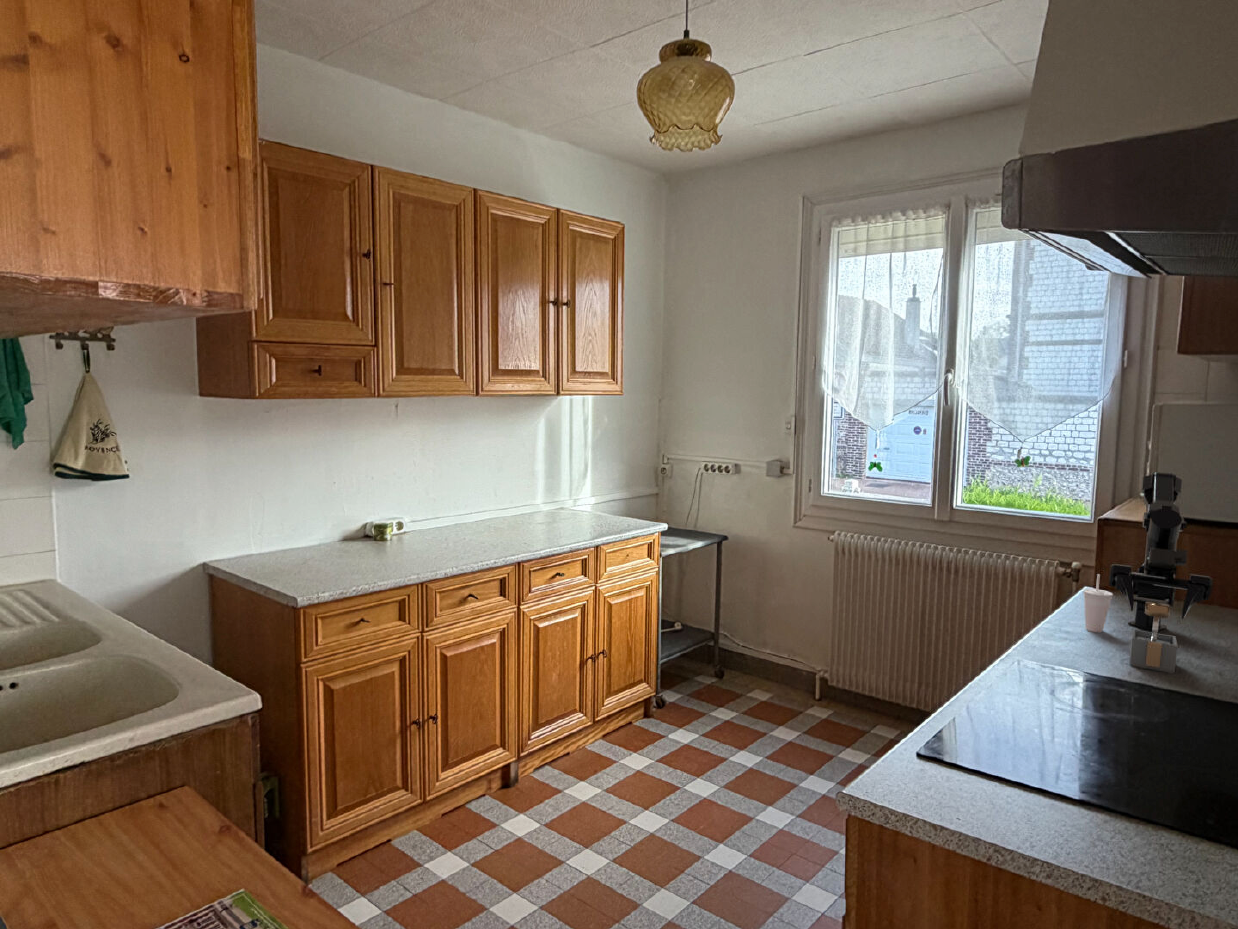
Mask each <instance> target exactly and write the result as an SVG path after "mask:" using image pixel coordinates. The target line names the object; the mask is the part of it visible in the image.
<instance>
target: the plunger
mask: <svg viewBox="0 0 1238 929" xmlns="http://www.w3.org/2000/svg"><path fill="white" fill-rule="evenodd" d="M1170 611H1171V607H1170V605H1168V604H1165V603H1160V602H1153V601H1148V602H1146V606H1145V614H1146V615H1149V616H1152V617H1154V619H1153V628H1152V630H1151V632H1152V637H1151V638H1147V637H1141V636H1137V637H1136V638H1137V639H1143V640H1148V641H1154V642H1160V643H1166V644H1171V643H1170V641H1165V640H1159V639H1157V633H1158V632H1159V630H1158V625H1159V618H1162V619H1169V618H1170ZM1158 634H1159V633H1158Z"/></svg>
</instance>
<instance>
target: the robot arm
mask: <svg viewBox="0 0 1238 929" xmlns="http://www.w3.org/2000/svg"><path fill="white" fill-rule="evenodd" d="M1182 484H1183V480H1182V479H1181V478H1180V477H1177V474H1174V473H1172V472H1158V471H1156V472H1152V473H1151V474H1150V475H1145V476H1143V477H1142V480H1141V489H1140V494H1143V503H1144V506H1146V508H1147V512H1143V515H1142V516H1143V518H1142V528H1145V532H1146V533H1147V534H1146V543H1145V555H1144V556H1145V557H1144V563H1143V564H1142V565H1140V567H1139V568H1138V569H1137V571H1136V572H1133V571H1132V565H1127V564H1126V565H1125V564H1117V563H1113V564H1112V565H1110V570H1109V571H1110V572H1109V580H1108V586H1110V587H1113V588H1115V590H1116V591H1120V593H1121V595H1123V597H1124V599H1125V601H1126V603H1127V606H1128V607H1129V610H1130V611H1131V612H1133V611H1134V620H1131V621H1128V622H1127V625H1131V626H1133V627H1137V626H1138V627H1137V628H1141V629H1145V630H1149V631H1152V628H1153V619H1154V617H1152V616H1149V615H1146V614H1145V606H1146V602H1148V601H1153V602H1160V603H1165V604H1168V605H1170V608H1171V607H1174V603H1175V602H1174V601H1175V596H1176V589H1180V590H1186V594H1185V597H1184V598H1185V599H1184V601H1183V602H1184V603H1183V606H1182V609H1181V610H1182V611H1181V613H1180V614H1181V615H1180V616H1181V619H1182V620H1184V619H1185V617H1186V615H1188V613H1189V610H1190V609H1191V608H1192V606H1194V605H1195V603H1201V602H1202V601H1207V600H1210V597H1211V593H1212V591H1213V590H1212V589H1213V586H1214V585H1213V581H1214V580H1213V579H1212V578H1211V577H1210V576H1209V575H1200V574H1194V573H1190V574H1189V578H1188V579H1181V578H1176V575H1177V572H1178V566H1182V567H1183V566H1186V565H1187V560H1188V550H1187V549H1182V548H1181V549H1180V548H1177V542H1178V540H1179V536H1180V532H1183V531H1184V529H1187V527H1188V523H1187V521H1185V519H1184V516H1182V515H1181V508H1180V507H1179V506H1177V505H1176V502H1177V498H1178V497H1179V498H1180V497H1181V494H1182ZM1134 604H1135V610H1134ZM1162 621H1163V618H1159V625H1158V631H1161V630H1164V629H1167V628H1168V625H1165V624H1162Z"/></svg>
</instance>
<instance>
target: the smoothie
mask: <svg viewBox="0 0 1238 929" xmlns="http://www.w3.org/2000/svg"><path fill="white" fill-rule="evenodd" d="M1096 576H1097V577H1096V584H1095V585H1096V586H1095V588H1083V589H1082V590H1083V592H1082V594H1083V596H1084V597H1083V598H1084V599H1083V600H1084V620H1085V621H1084V622H1085V624H1084V625H1085V630H1086V631H1087V632H1092V633H1103V632H1104V627H1105V624H1106V621H1107V617H1108V612H1109V608H1110V605H1111V601H1112V599H1113V598H1114V593H1113V592H1110V591H1108V590H1103V589H1100V581H1101V580H1100V579H1101V578H1100V577H1101V574H1099V573H1097V574H1096Z"/></svg>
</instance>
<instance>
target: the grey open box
mask: <svg viewBox="0 0 1238 929" xmlns="http://www.w3.org/2000/svg"><path fill="white" fill-rule="evenodd" d="M1137 636H1141V637H1147V638H1151V637H1152V631H1144V630H1139V629H1131V638H1130V646H1129V656H1130V657H1129V656H1128V657H1129V666H1132V665H1133V667H1139V668H1144V669H1148V670H1153V671H1160V672H1164V673H1169V674H1175V670H1176V662H1177V655H1178V654H1177V653H1178V641H1177V637H1176V635H1175V636H1174V635H1170V634H1164V633H1163V634H1162V633H1157V639H1159V640H1165V641H1170V643H1171V644H1166V643H1160V642H1154V641H1148V640H1143V639H1137V638H1136V637H1137Z"/></svg>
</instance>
